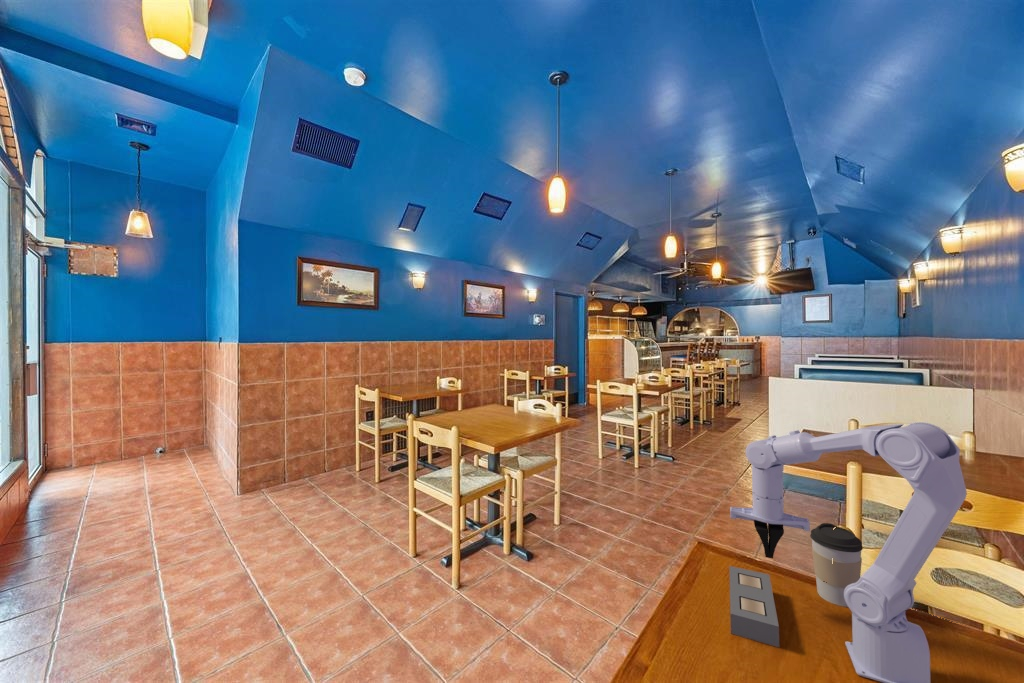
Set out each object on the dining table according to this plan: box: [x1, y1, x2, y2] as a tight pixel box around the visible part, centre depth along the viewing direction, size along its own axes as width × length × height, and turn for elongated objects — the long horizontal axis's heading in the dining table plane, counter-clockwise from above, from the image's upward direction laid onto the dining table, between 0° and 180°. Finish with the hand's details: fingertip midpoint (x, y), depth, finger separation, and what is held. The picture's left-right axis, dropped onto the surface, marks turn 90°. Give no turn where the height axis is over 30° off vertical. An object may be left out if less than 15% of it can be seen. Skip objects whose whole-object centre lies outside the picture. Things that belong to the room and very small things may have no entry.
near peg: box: [741, 597, 765, 616], centre depth 80 cm, size 4×4×4 cm
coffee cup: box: [809, 522, 864, 608], centre depth 88 cm, size 9×9×15 cm
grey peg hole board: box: [729, 565, 780, 648], centre depth 84 cm, size 8×18×4 cm, turn 152°
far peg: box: [739, 574, 761, 589], centre depth 88 cm, size 4×4×4 cm
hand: (768, 555), depth 86 cm, fingers closed
